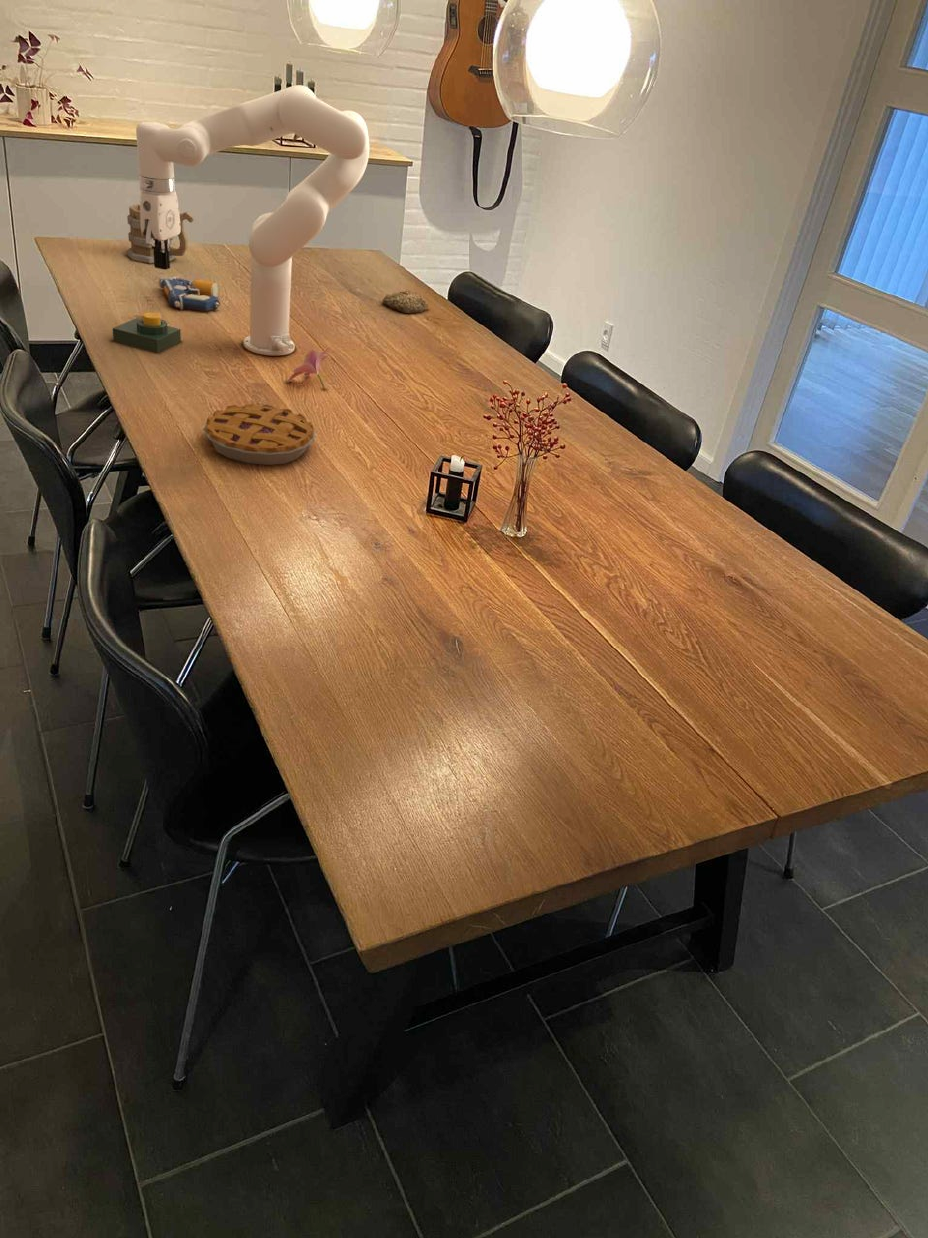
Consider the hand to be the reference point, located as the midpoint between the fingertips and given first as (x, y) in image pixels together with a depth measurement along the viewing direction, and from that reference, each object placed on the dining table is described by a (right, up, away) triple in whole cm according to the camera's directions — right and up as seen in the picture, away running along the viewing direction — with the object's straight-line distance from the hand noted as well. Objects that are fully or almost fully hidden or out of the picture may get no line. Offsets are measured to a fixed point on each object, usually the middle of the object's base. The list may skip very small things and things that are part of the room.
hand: (162, 267), depth 219 cm
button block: (-5, -16, +5) cm, 18 cm away
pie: (+30, -48, -32) cm, 65 cm away
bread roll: (+54, +10, +58) cm, 80 cm away
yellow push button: (-3, -13, +2) cm, 13 cm away
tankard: (-20, +26, +62) cm, 70 cm away
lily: (+35, -28, -2) cm, 45 cm away
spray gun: (-3, +4, +35) cm, 35 cm away
